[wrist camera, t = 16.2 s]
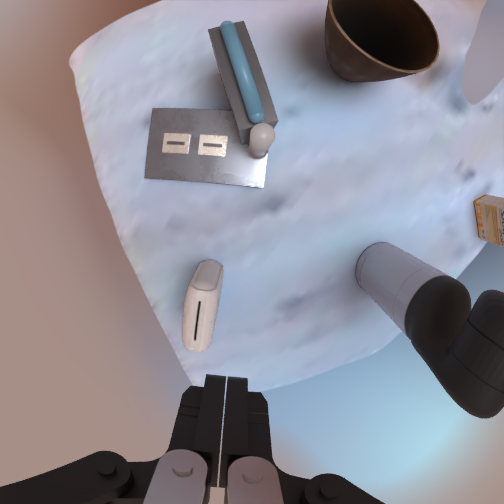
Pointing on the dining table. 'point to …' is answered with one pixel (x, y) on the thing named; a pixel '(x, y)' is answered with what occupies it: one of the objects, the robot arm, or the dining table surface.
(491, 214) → the supplement box
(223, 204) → the dining table surface
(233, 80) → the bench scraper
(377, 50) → the plant pot
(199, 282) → the photo printer
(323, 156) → the dining table surface
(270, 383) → the dining table surface
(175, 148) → the panel
